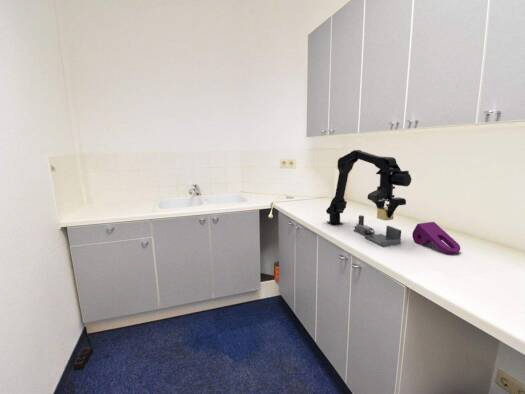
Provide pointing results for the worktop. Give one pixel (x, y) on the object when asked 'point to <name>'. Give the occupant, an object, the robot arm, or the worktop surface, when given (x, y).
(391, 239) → the frame
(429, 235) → the mounting bracket
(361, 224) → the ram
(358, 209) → the worktop surface
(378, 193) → the robot arm
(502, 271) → the worktop surface
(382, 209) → the block
